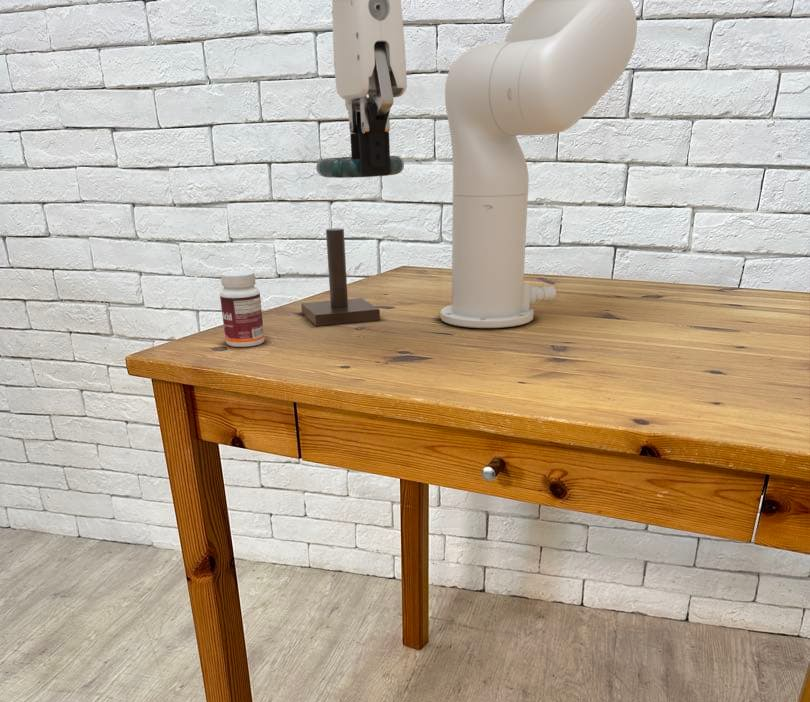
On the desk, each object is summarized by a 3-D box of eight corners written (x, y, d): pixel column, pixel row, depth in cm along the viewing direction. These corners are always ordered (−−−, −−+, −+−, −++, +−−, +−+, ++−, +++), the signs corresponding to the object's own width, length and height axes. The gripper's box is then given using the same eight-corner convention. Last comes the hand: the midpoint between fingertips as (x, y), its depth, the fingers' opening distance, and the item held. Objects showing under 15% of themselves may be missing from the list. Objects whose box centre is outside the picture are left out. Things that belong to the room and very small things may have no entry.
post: (361, 308, 113) (358, 224, 108) (380, 320, 105) (376, 230, 100) (301, 313, 110) (294, 228, 105) (316, 326, 103) (309, 234, 98)
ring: (387, 171, 92) (386, 154, 91) (415, 174, 84) (415, 156, 83) (309, 175, 89) (307, 158, 88) (331, 179, 81) (330, 160, 80)
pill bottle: (222, 341, 96) (213, 271, 93) (259, 336, 98) (252, 268, 94) (230, 349, 93) (221, 277, 89) (269, 344, 94) (261, 273, 90)
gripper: (428, -50, 69) (431, 176, 78) (371, -20, 82) (379, 170, 91) (348, -53, 67) (361, 180, 76) (303, -22, 80) (318, 173, 89)
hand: (371, 173), depth 83 cm, fingers closed on ring, 2 cm apart
